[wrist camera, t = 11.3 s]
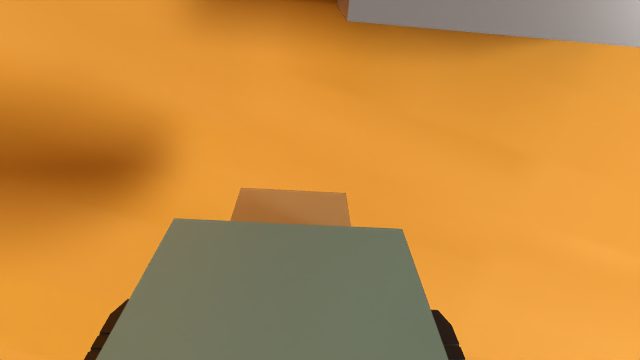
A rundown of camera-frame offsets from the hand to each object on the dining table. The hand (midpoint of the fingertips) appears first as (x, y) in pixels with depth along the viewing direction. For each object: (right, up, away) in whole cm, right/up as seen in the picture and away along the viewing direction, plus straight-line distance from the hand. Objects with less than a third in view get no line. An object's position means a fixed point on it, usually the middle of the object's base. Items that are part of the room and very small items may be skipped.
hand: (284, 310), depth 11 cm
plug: (0, +2, +3) cm, 4 cm away
